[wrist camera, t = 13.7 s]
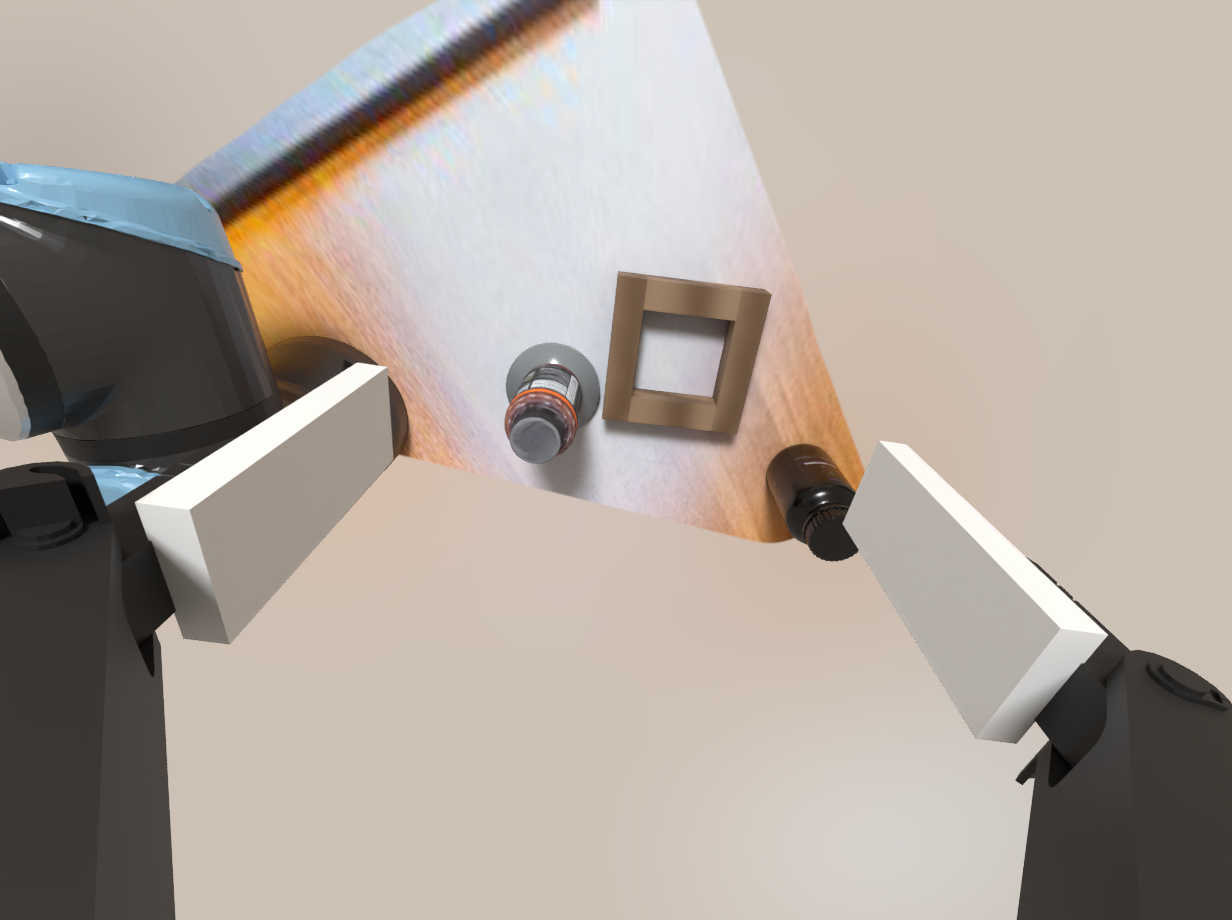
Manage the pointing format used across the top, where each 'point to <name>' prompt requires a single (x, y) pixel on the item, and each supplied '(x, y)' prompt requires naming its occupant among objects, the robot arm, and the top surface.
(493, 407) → the top surface
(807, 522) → the supplement bottle
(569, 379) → the supplement bottle
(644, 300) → the frame
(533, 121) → the top surface
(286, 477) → the robot arm
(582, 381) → the slate coaster
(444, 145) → the top surface
